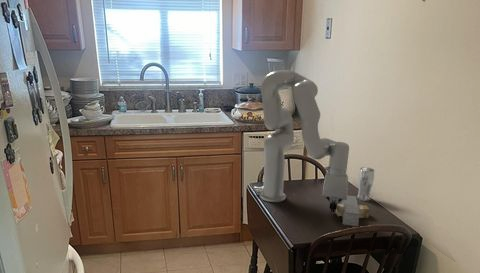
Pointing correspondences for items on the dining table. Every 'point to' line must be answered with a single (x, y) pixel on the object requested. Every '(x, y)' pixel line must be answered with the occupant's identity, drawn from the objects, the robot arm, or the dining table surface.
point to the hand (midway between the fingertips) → (332, 210)
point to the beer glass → (365, 183)
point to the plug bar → (362, 208)
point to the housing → (350, 211)
